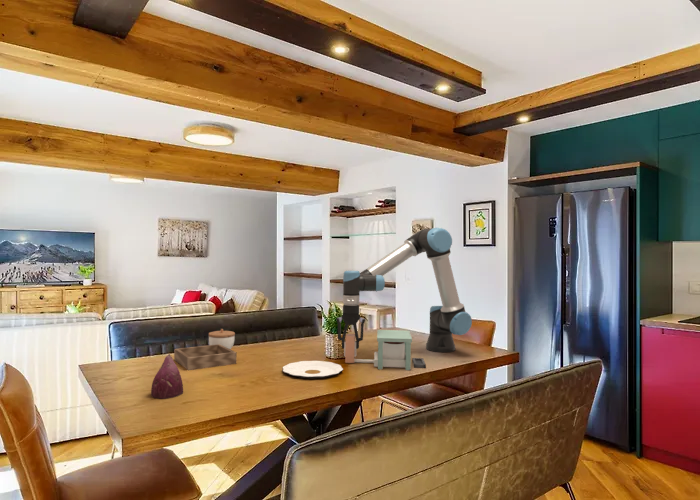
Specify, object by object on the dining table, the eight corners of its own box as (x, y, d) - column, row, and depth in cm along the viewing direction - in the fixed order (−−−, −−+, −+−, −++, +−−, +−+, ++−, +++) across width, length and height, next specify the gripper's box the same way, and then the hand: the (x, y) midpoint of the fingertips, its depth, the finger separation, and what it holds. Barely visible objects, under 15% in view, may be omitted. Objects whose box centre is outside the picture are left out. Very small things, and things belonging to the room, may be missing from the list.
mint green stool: (376, 369, 197) (377, 337, 197) (376, 357, 218) (377, 329, 218) (411, 370, 196) (412, 339, 196) (408, 358, 217) (409, 330, 217)
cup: (403, 367, 201) (403, 344, 201) (380, 365, 203) (381, 343, 203) (405, 362, 211) (405, 340, 211) (383, 360, 213) (384, 339, 213)
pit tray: (414, 367, 201) (414, 364, 201) (412, 361, 213) (412, 357, 213) (425, 368, 200) (425, 364, 200) (423, 361, 212) (423, 358, 212)
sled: (344, 365, 201) (344, 338, 201) (347, 357, 217) (347, 331, 217) (410, 367, 199) (411, 340, 199) (408, 359, 215) (408, 333, 215)
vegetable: (157, 399, 163) (156, 356, 166) (187, 395, 163) (185, 352, 167) (146, 401, 152) (145, 355, 156) (177, 397, 153) (176, 351, 157)
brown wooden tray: (219, 354, 219) (219, 344, 219) (236, 363, 202) (236, 352, 202) (174, 360, 207) (174, 349, 207) (188, 370, 190) (188, 358, 190)
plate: (350, 368, 199) (350, 364, 199) (329, 383, 175) (329, 378, 175) (298, 362, 207) (298, 358, 207) (271, 376, 183) (271, 372, 183)
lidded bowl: (239, 350, 228) (240, 328, 228) (220, 355, 218) (220, 332, 218) (222, 347, 235) (222, 326, 235) (202, 351, 225) (203, 329, 225)
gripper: (331, 304, 205) (330, 356, 205) (369, 305, 204) (368, 358, 204) (333, 303, 213) (332, 353, 213) (369, 303, 212) (369, 354, 212)
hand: (350, 355), depth 208 cm, fingers closed on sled, 4 cm apart
